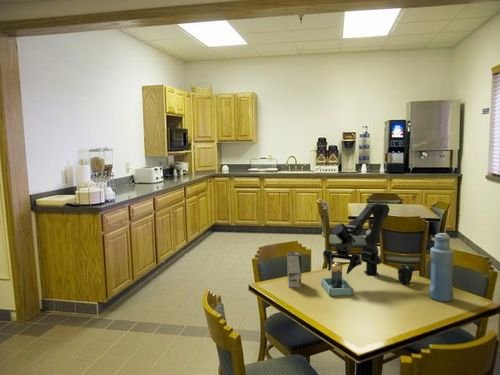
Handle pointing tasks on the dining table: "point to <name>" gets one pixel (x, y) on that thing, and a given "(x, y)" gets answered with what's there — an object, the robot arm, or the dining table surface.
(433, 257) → the bottle
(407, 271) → the controller
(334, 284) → the cylinder
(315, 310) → the dining table surface
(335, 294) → the tray
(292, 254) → the coffee box
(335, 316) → the dining table surface
